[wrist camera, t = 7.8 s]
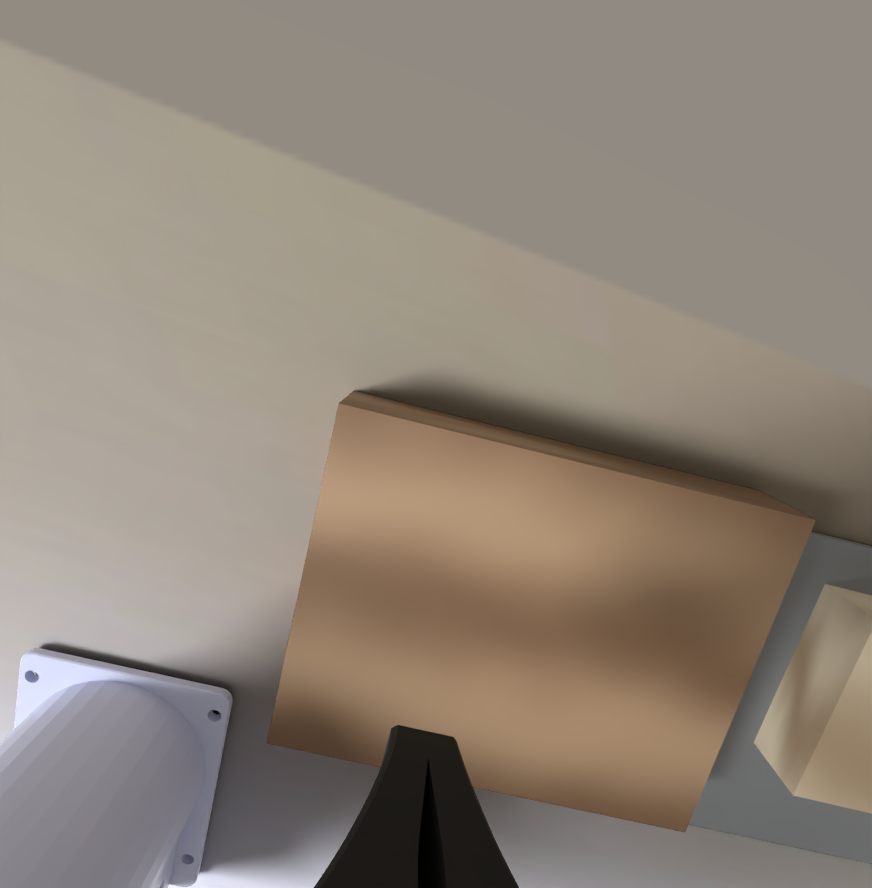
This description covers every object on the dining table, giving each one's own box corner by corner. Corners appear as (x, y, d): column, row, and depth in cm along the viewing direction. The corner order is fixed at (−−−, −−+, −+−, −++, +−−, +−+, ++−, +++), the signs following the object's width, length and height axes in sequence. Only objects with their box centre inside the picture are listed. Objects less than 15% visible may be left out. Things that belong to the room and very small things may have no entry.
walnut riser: (653, 766, 23) (685, 832, 20) (289, 686, 22) (266, 742, 19) (760, 491, 20) (815, 520, 17) (353, 390, 19) (338, 403, 16)
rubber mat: (922, 867, 24) (930, 876, 23) (644, 807, 23) (647, 815, 23) (1070, 594, 21) (1082, 599, 21) (758, 518, 20) (765, 522, 20)
